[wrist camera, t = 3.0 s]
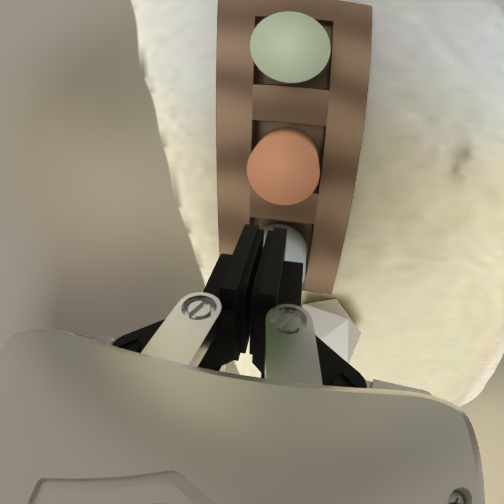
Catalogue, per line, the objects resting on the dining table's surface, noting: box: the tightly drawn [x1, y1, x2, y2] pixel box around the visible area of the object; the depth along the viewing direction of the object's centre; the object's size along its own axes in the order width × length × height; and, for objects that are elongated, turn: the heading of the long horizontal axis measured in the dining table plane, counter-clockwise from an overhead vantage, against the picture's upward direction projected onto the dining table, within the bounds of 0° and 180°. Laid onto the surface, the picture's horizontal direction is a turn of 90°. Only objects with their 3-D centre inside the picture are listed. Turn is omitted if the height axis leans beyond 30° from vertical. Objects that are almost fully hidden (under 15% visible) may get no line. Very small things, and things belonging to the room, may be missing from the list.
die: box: [302, 299, 361, 363], centre depth 34 cm, size 8×9×10 cm
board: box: [216, 0, 372, 294], centre depth 25 cm, size 28×12×3 cm, turn 179°
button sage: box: [250, 11, 331, 83], centre depth 17 cm, size 5×5×4 cm
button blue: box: [262, 224, 306, 284], centre depth 27 cm, size 5×5×4 cm
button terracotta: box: [247, 127, 320, 205], centre depth 22 cm, size 5×5×4 cm
